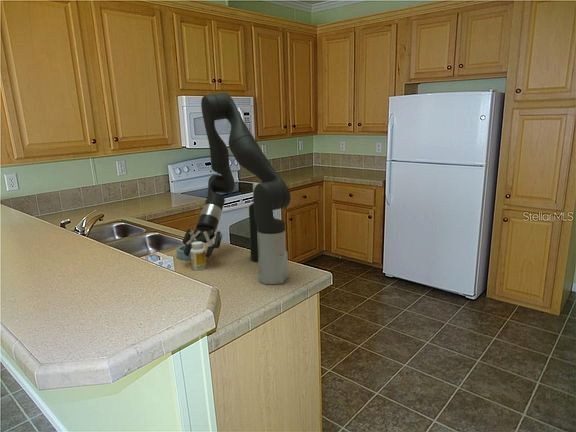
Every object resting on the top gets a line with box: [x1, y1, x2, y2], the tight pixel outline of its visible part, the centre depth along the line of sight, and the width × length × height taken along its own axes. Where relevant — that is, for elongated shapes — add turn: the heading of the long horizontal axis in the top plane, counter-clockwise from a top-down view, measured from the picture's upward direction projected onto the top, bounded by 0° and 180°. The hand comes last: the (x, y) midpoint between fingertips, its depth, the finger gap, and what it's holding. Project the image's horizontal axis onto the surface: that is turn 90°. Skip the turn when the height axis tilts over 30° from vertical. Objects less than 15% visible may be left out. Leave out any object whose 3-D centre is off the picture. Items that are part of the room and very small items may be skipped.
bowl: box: [176, 244, 193, 261], centre depth 159 cm, size 10×10×4 cm
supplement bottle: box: [190, 241, 207, 271], centre depth 145 cm, size 5×5×10 cm
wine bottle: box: [248, 182, 259, 263], centre depth 151 cm, size 6×6×30 cm
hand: (196, 256), depth 144 cm, fingers open, 8 cm apart
